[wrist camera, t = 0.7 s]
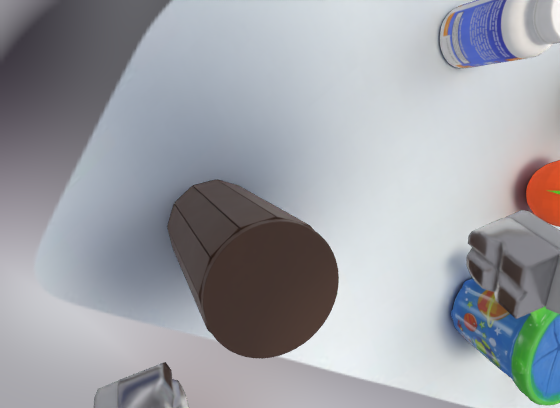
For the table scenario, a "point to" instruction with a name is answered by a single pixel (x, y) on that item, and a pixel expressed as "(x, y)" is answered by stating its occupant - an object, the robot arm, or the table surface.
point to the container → (252, 269)
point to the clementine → (545, 193)
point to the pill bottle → (499, 31)
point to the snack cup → (513, 341)
